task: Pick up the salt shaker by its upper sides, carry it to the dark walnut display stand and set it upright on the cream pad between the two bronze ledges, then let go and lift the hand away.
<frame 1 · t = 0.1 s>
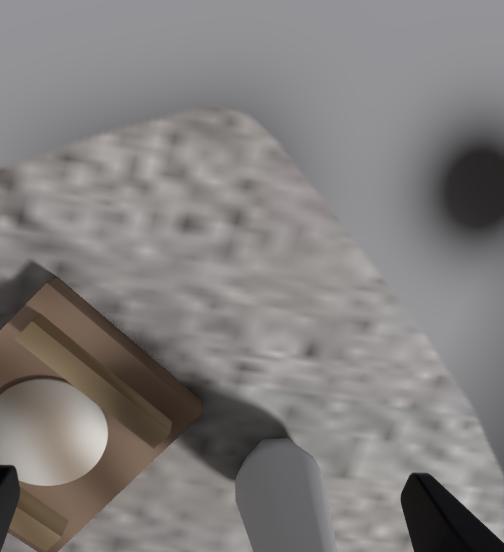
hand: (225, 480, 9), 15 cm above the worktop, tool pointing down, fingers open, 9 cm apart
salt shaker: (273, 460, 27), on the worktop
display stand: (58, 417, 24), on the worktop
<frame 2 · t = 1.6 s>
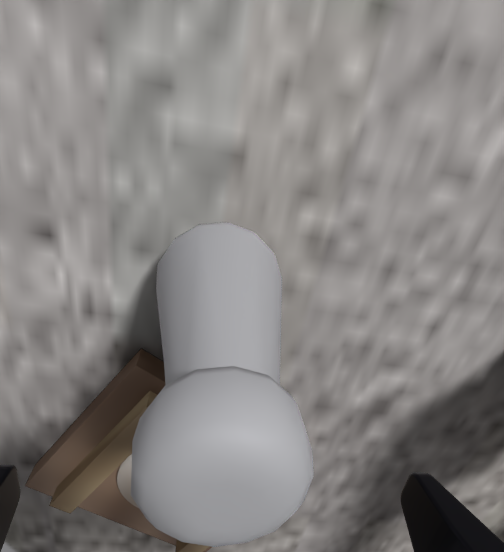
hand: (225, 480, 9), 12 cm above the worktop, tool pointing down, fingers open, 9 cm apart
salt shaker: (219, 261, 20), on the worktop
display stand: (176, 456, 26), on the worktop
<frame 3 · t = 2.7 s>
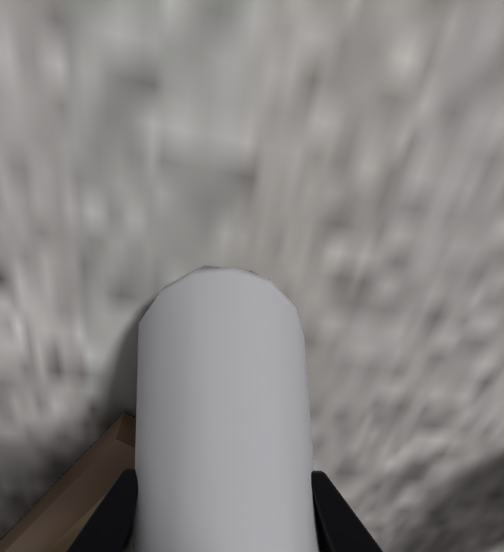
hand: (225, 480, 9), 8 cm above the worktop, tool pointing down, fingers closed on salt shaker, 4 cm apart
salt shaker: (221, 307, 15), on the worktop, touching gripper
display stand: (169, 529, 21), on the worktop
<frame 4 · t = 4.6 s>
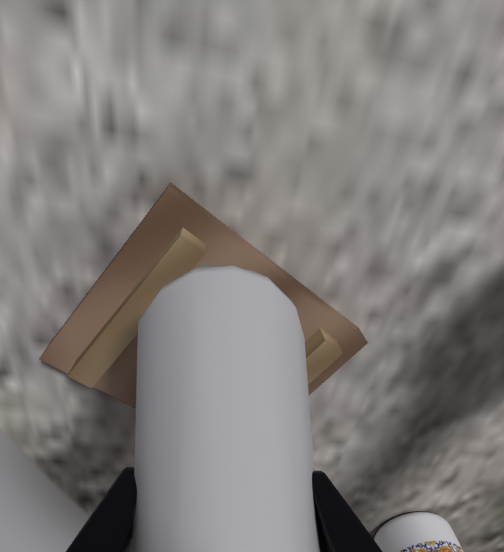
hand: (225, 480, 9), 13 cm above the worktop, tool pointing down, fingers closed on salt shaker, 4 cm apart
bath foam: (408, 530, 33), on the worktop
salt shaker: (221, 307, 15), point 5 cm above the worktop, touching gripper
display stand: (209, 335, 22), on the worktop
when the fingers open (10 cm above the worktop, at t = 6.3 s): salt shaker stays where it is, resting on display stand.
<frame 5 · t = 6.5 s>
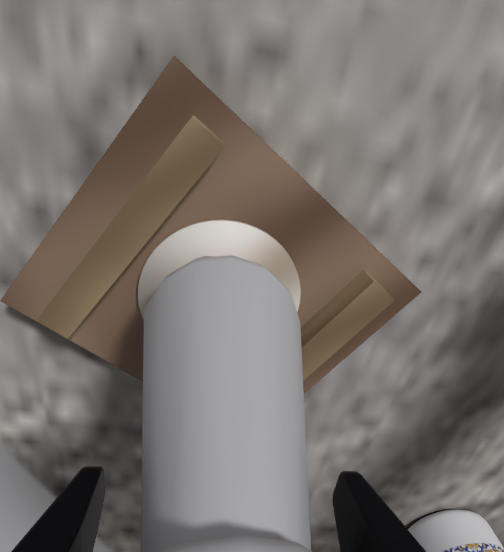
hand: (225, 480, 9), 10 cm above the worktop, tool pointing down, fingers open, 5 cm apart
bath foam: (439, 531, 29), on the worktop
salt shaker: (222, 296, 16), point 2 cm above the worktop, touching display stand
display stand: (220, 281, 18), on the worktop
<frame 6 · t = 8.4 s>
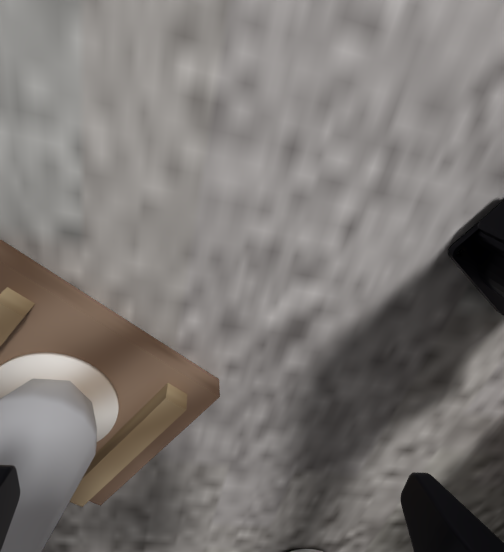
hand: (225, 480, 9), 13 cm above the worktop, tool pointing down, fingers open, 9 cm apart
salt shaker: (54, 403, 21), point 2 cm above the worktop, touching display stand
display stand: (63, 384, 22), on the worktop
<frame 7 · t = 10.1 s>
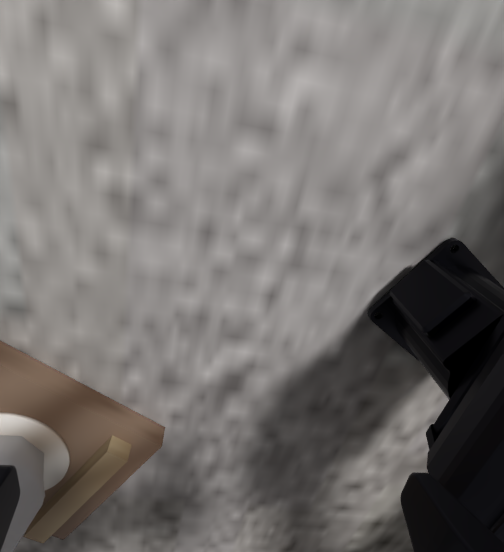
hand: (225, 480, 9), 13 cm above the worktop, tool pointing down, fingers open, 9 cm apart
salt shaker: (10, 454, 23), point 2 cm above the worktop, touching display stand
display stand: (22, 434, 25), on the worktop
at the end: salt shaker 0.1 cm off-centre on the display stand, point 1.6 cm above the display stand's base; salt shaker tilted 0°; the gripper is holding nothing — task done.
